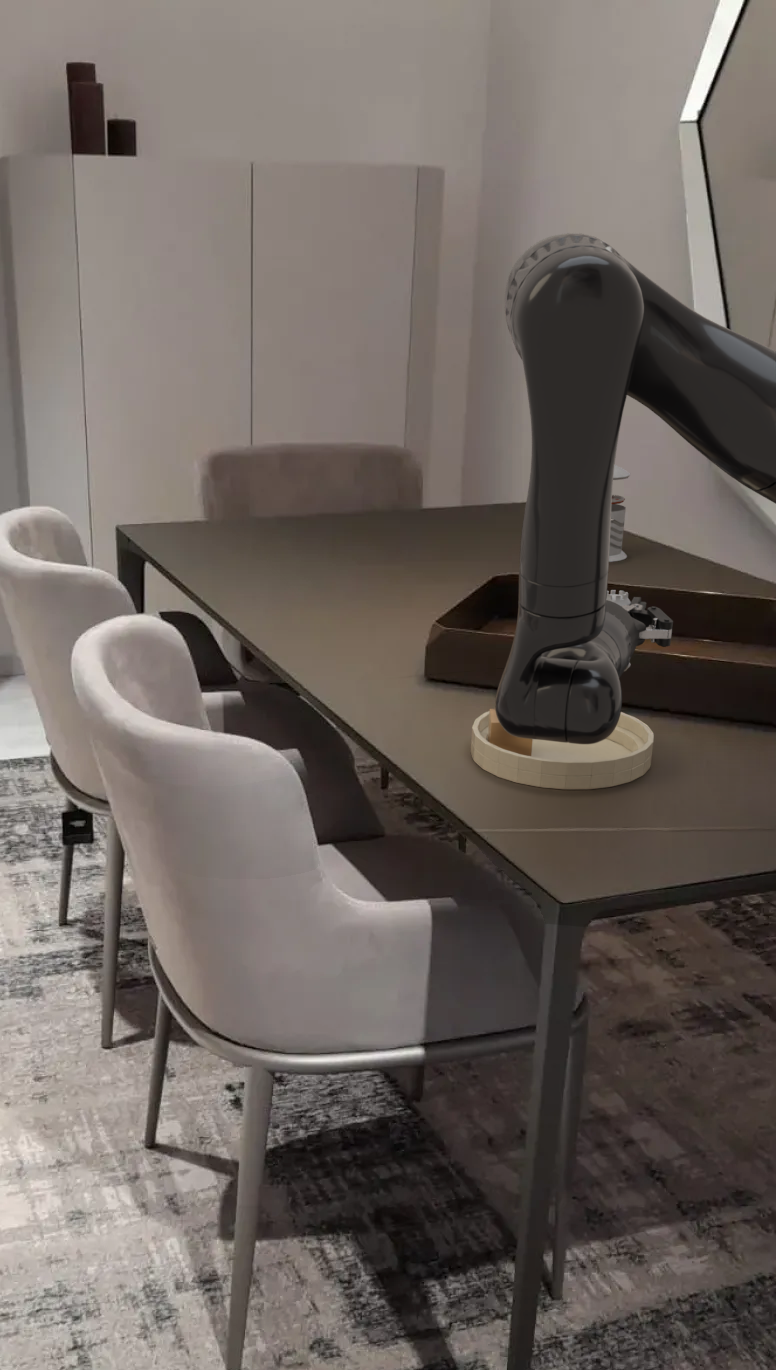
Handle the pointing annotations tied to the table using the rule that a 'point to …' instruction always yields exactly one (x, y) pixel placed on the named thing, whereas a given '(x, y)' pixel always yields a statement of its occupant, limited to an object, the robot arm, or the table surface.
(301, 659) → the table surface
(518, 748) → the block
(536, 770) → the round cream tray
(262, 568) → the table surface
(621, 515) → the french press
